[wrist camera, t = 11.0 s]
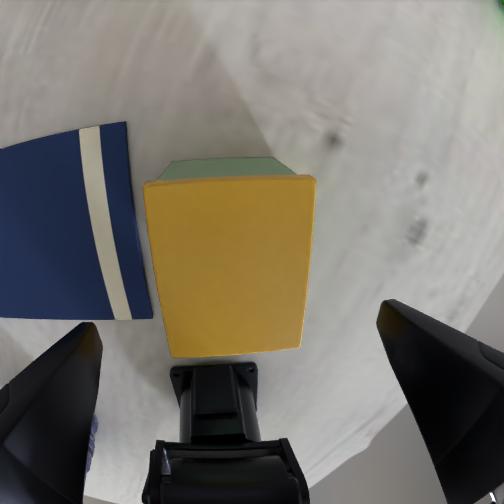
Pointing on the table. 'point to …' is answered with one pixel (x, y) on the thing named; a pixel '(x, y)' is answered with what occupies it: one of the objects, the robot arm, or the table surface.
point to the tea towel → (70, 229)
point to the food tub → (231, 254)
